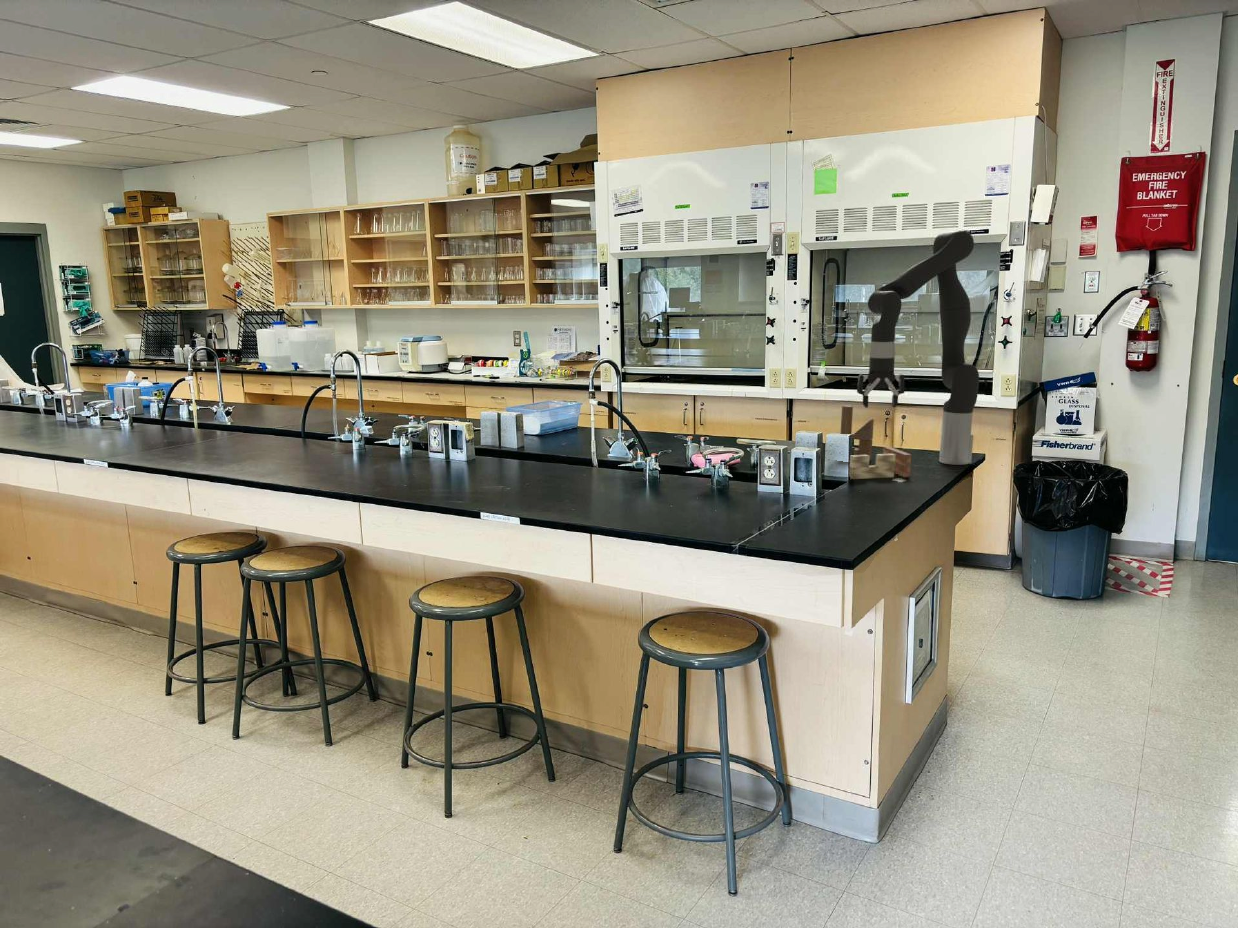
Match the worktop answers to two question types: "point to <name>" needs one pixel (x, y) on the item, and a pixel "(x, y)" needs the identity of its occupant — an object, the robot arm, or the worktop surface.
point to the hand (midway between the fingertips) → (879, 407)
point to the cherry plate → (900, 461)
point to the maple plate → (872, 466)
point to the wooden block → (858, 432)
